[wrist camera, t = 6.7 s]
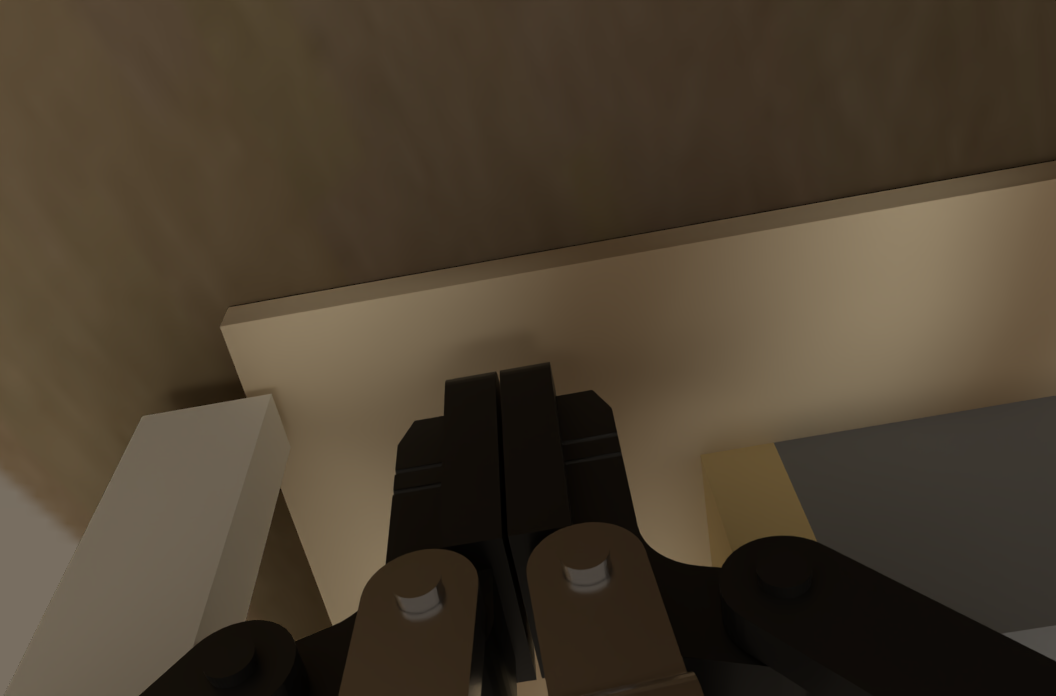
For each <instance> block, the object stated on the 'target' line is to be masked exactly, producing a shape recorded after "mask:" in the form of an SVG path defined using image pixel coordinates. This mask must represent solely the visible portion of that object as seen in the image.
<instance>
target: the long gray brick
mask: <svg viewBox="0 0 1056 696" xmlns="http://www.w3.org/2000/svg"><path fill="white" fill-rule="evenodd" d="M700 456H701V466H702V475H703V485H704V494H705V504H706V513H707V523H708V532H709V542H710V551H711V561H712V567H720V568H722V565H723V563H724V562H725V560H726V559H727V558H728V557H729V556H730V555H731V554H732V552H734V551H735V550H736V549H738V548H739V547H741V546H742V545H744V544H746V543H748V542H751V541H754V540H756V539H759V538H764V537H769V536H780V535H783V536H797V537H803V538H807V539H810V540H814V541H816V542H819V543H821V544H823V545H825V546H827V547H829V548H831V549H833V550H835V551H837V552H839V553H841V554H843V555H845V556H847V557H849V558H851V559H853V560H855V561H857V562H859V563H861V564H863V565H865V566H867V567H869V568H871V569H873V570H875V571H877V572H879V573H881V574H883V575H885V576H887V577H889V578H891V579H893V580H895V581H897V582H899V583H901V584H903V585H905V586H907V587H909V588H911V589H913V590H915V591H917V592H919V593H921V594H923V595H925V596H927V597H929V598H931V599H933V600H935V601H937V602H939V603H941V604H943V605H945V606H947V607H949V608H951V609H953V610H955V611H957V612H959V613H961V614H963V615H965V616H967V617H969V618H971V619H973V620H975V621H977V622H979V623H981V624H983V625H985V626H987V627H989V628H991V629H993V630H995V631H997V632H999V633H1001V634H1003V635H1005V636H1007V637H1009V638H1011V639H1013V640H1015V641H1017V642H1019V643H1021V644H1023V645H1025V646H1027V647H1029V648H1031V649H1033V650H1035V651H1037V652H1039V653H1041V654H1043V655H1045V656H1047V657H1048V658H1050V659H1052V660H1054V661H1056V395H1055V396H1049V397H1043V398H1037V399H1031V400H1025V401H1019V402H1013V403H1007V404H1001V405H995V406H989V407H983V408H978V409H972V410H966V411H960V412H954V413H948V414H942V415H936V416H930V417H924V418H918V419H912V420H906V421H900V422H894V423H888V424H882V425H876V426H870V427H864V428H858V429H852V430H846V431H840V432H834V433H828V434H822V435H816V436H810V437H804V438H798V439H792V440H786V441H780V442H774V443H768V444H762V445H756V446H750V447H744V448H738V449H733V450H727V451H721V452H715V453H709V454H703V455H700Z"/></svg>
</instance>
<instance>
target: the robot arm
mask: <svg viewBox="0 0 1056 696" xmlns="http://www.w3.org/2000/svg"><path fill="white" fill-rule="evenodd" d="M395 472H396V475H395V476H394V486H393V492H394V495H392V505H391V515H390V525H389V535H388V544H387V554H386V564H385V565H384V566H383V567H381V568H380V569H379V570H378V571H377V572H376V573H375V574H374V575H373V576H372V577H371V578H370V580H369V581H368V582H367V584H366V586H365V587H364V589H363V592H362V595H361V598H360V602H359V607H358V611H357V612H355V613H354V614H353V615H351V616H350V617H348V618H346V619H345V620H343V621H341V622H339V623H337V624H335V625H333V626H331V627H329V628H326V629H324V630H322V631H319V632H317V633H315V634H312V635H310V636H308V637H305V638H303V639H300V640H298V641H296V642H295V641H294V639H293V637H292V635H291V634H290V633H289V632H288V631H287V629H285V628H284V627H282V626H281V625H279V624H276V623H273V622H270V621H264V620H252V621H244V622H240V623H236V624H232V625H230V626H227V627H224V628H222V629H220V630H218V631H216V632H214V633H212V634H210V635H209V636H207V637H206V638H204V639H203V640H201V641H200V642H199V643H198V644H196V645H195V646H194V647H193V648H192V649H191V650H189V651H188V652H187V653H186V654H185V655H184V656H183V657H182V658H180V659H179V660H178V661H177V662H176V663H175V664H174V665H173V666H171V667H170V668H169V669H168V670H167V671H166V672H165V673H164V674H163V675H161V676H160V677H159V678H158V679H157V680H156V681H155V682H154V683H152V684H151V685H150V686H149V687H148V688H147V689H146V690H145V691H143V692H142V693H141V694H140V695H139V696H517V683H520V682H526V681H532V680H537V677H536V664H535V652H536V656H537V660H538V664H539V668H540V673H541V677H542V678H545V680H546V686H547V691H548V696H1056V661H1054V660H1052V659H1050V658H1048V657H1047V656H1045V655H1043V654H1041V653H1039V652H1037V651H1035V650H1033V649H1031V648H1029V647H1027V646H1025V645H1023V644H1021V643H1019V642H1017V641H1015V640H1013V639H1011V638H1009V637H1007V636H1005V635H1003V634H1001V633H999V632H997V631H995V630H993V629H991V628H989V627H987V626H985V625H983V624H981V623H979V622H977V621H975V620H973V619H971V618H969V617H967V616H965V615H963V614H961V613H959V612H957V611H955V610H953V609H951V608H949V607H947V606H945V605H943V604H941V603H939V602H937V601H935V600H933V599H931V598H929V597H927V596H925V595H923V594H921V593H919V592H917V591H915V590H913V589H911V588H909V587H907V586H905V585H903V584H901V583H899V582H897V581H895V580H893V579H891V578H889V577H887V576H885V575H883V574H881V573H879V572H877V571H875V570H873V569H871V568H869V567H867V566H865V565H863V564H861V563H859V562H857V561H855V560H853V559H851V558H849V557H847V556H845V555H843V554H841V553H839V552H837V551H835V550H833V549H831V548H829V547H827V546H825V545H823V544H821V543H819V542H816V541H814V540H810V539H807V538H803V537H797V536H783V535H780V536H769V537H764V538H759V539H756V540H754V541H751V542H748V543H746V544H744V545H742V546H741V547H739V548H738V549H736V550H735V551H734V552H732V554H731V555H730V556H729V557H728V558H727V559H726V560H725V562H724V563H723V565H722V568H720V567H708V566H697V565H690V564H685V563H681V562H677V561H674V560H672V559H669V558H667V557H665V556H663V555H661V554H660V553H658V552H656V551H655V550H654V549H653V548H651V547H650V546H649V545H648V544H647V542H646V541H645V540H644V539H643V537H642V535H641V534H640V531H639V528H638V525H637V520H636V516H635V511H634V506H633V502H632V497H631V493H630V488H629V484H628V479H627V475H626V470H625V466H624V461H623V456H622V452H621V447H620V443H619V438H618V434H617V429H616V425H615V420H614V416H613V411H612V408H611V407H610V406H609V405H608V404H607V403H606V402H605V401H604V400H603V399H602V398H601V397H600V396H599V395H597V394H596V393H595V392H594V391H593V390H588V391H582V392H577V393H571V394H565V395H559V396H557V395H556V390H555V384H554V379H553V374H552V369H551V364H550V362H545V363H539V364H534V365H528V366H522V367H516V368H511V369H505V370H500V382H499V378H498V375H497V372H496V371H495V372H489V373H483V374H477V375H472V376H466V377H460V378H454V379H449V380H446V381H445V394H444V416H439V417H433V418H427V419H422V420H416V421H414V422H413V424H412V425H411V426H410V428H409V429H408V431H407V432H406V434H405V435H404V437H403V438H402V440H401V441H400V442H399V444H398V447H397V456H396V466H395ZM534 648H535V650H534Z"/></svg>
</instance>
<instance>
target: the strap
mask: <svg viewBox="0 0 1056 696" xmlns="http://www.w3.org/2000/svg"><path fill="white" fill-rule="evenodd" d="M290 448H291V446H290V443H289V441H288V438H287V435H286V432H285V430H284V427H283V424H282V421H281V419H280V416H279V413H278V410H277V407H276V405H275V402H274V399H273V396H272V394H267V395H261V396H255V397H250V398H244V399H238V400H232V401H227V402H221V403H215V404H209V405H204V406H198V407H192V408H186V409H180V410H175V411H169V412H163V413H157V414H152V415H146V416H142V418H141V420H140V422H139V424H138V426H137V428H136V430H135V432H134V434H133V436H132V438H131V440H130V442H129V444H128V446H127V448H126V450H125V452H124V454H123V456H122V458H121V460H120V462H119V464H118V466H117V468H116V470H115V472H114V474H113V476H112V478H111V480H110V482H109V484H108V486H107V488H106V490H105V492H104V494H103V496H102V498H101V500H100V502H99V504H98V506H97V508H96V510H95V512H94V514H93V516H92V518H91V520H90V522H89V524H88V527H87V529H86V531H85V533H84V535H83V537H82V539H81V541H80V543H79V545H78V547H77V549H76V551H75V553H74V555H73V557H72V559H71V561H70V563H69V565H68V567H67V569H66V571H65V573H64V575H63V577H62V579H61V581H60V583H59V585H58V587H57V589H56V591H55V593H54V595H53V597H52V599H51V601H50V604H49V605H48V607H47V609H46V611H45V613H44V615H43V617H42V619H41V621H40V624H39V625H38V627H37V629H36V631H35V633H34V635H33V637H32V640H31V642H30V644H29V646H28V648H27V650H26V652H25V654H24V656H23V658H22V660H21V662H20V664H19V666H18V668H17V670H16V672H15V674H14V676H13V678H12V680H11V682H10V684H9V686H8V688H7V690H6V692H5V694H4V696H139V695H140V694H141V693H142V692H143V691H145V690H146V689H147V688H148V687H149V686H150V685H151V684H152V683H154V682H155V681H156V680H157V679H158V678H159V677H160V676H161V675H163V674H164V673H165V672H166V671H167V670H168V669H169V668H170V667H171V666H173V665H174V664H175V663H176V662H177V661H178V660H179V659H180V658H182V657H183V656H184V655H185V654H186V653H187V652H188V651H189V650H191V649H192V648H193V647H194V646H195V645H196V644H198V643H199V642H200V641H201V640H203V639H204V638H206V637H207V636H209V635H210V634H212V633H214V632H216V631H218V630H220V629H222V628H224V627H227V626H230V625H232V624H236V623H240V622H244V621H246V618H247V614H248V610H249V606H250V602H251V598H252V595H253V591H254V587H255V583H256V579H257V575H258V571H259V567H260V564H261V560H262V556H263V552H264V548H265V544H266V540H267V537H268V533H269V529H270V525H271V521H272V517H273V513H274V510H275V506H276V502H277V498H278V494H279V490H280V486H281V483H282V479H283V475H284V471H285V467H286V463H287V459H288V456H289V452H290Z"/></svg>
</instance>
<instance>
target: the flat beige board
mask: <svg viewBox="0 0 1056 696" xmlns="http://www.w3.org/2000/svg"><path fill="white" fill-rule="evenodd" d="M220 329H221V331H222V334H223V337H224V339H225V342H226V344H227V347H228V350H229V352H230V355H231V358H232V360H233V363H234V366H235V368H236V371H237V374H238V376H239V379H240V382H241V384H242V387H243V390H244V392H245V395H246V397H247V398H250V397H255V396H261V395H267V394H272V396H273V399H274V402H275V405H276V407H277V410H278V413H279V416H280V419H281V421H282V424H283V427H284V430H285V432H286V435H287V438H288V441H289V443H290V446H291V448H290V452H289V456H288V459H287V463H286V467H285V471H284V475H283V479H282V483H281V486H280V488H281V490H282V493H283V496H284V498H285V501H286V504H287V506H288V509H289V512H290V514H291V517H292V519H293V522H294V525H295V527H296V530H297V533H298V535H299V538H300V541H301V543H302V546H303V549H304V551H305V554H306V557H307V559H308V562H309V565H310V567H311V570H312V572H313V575H314V578H315V580H316V583H317V586H318V588H319V591H320V594H321V596H322V599H323V602H324V604H325V607H326V610H327V612H328V615H329V618H330V620H331V623H332V626H333V625H335V624H337V623H339V622H341V621H343V620H345V619H346V618H348V617H350V616H351V615H353V614H354V613H355V612H357V611H358V607H359V602H360V598H361V595H362V592H363V589H364V587H365V586H366V584H367V582H368V581H369V580H370V578H371V577H372V576H373V575H374V574H375V573H376V572H377V571H378V570H379V569H380V568H381V567H383V566H384V565H385V564H386V554H387V544H388V535H389V525H390V515H391V505H392V495H394V492H393V486H394V476H395V475H396V472H395V466H396V456H397V447H398V444H399V442H400V441H401V440H402V438H403V437H404V435H405V434H406V432H407V431H408V429H409V428H410V426H411V425H412V424H413V422H414V421H416V420H422V419H427V418H433V417H439V416H444V394H445V381H446V380H449V379H454V378H460V377H466V376H472V375H477V374H483V373H489V372H495V371H496V372H497V375H498V378H499V382H500V370H505V369H511V368H516V367H522V366H528V365H534V364H539V363H545V362H550V364H551V369H552V374H553V379H554V384H555V390H556V395H557V396H559V395H565V394H571V393H577V392H582V391H588V390H593V391H594V392H595V393H596V394H597V395H599V396H600V397H601V398H602V399H603V400H604V401H605V402H606V403H607V404H608V405H609V406H610V407H611V408H612V411H613V416H614V420H615V425H616V429H617V434H618V438H619V443H620V447H621V452H622V456H623V461H624V466H625V470H626V475H627V479H628V484H629V488H630V493H631V497H632V502H633V506H634V511H635V516H636V520H637V525H638V528H639V531H640V534H641V535H642V537H643V539H644V540H645V541H646V542H647V544H648V545H649V546H650V547H651V548H653V549H654V550H655V551H656V552H658V553H660V554H661V555H663V556H665V557H667V558H669V559H672V560H674V561H677V562H681V563H685V564H690V565H697V566H708V567H712V561H711V551H710V542H709V532H708V523H707V513H706V504H705V494H704V485H703V475H702V466H701V456H700V455H703V454H709V453H715V452H721V451H727V450H733V449H738V448H744V447H750V446H756V445H762V444H768V443H774V442H780V441H786V440H792V439H798V438H804V437H810V436H816V435H822V434H828V433H834V432H840V431H846V430H852V429H858V428H864V427H870V426H876V425H882V424H888V423H894V422H900V421H906V420H912V419H918V418H924V417H930V416H936V415H942V414H948V413H954V412H960V411H966V410H972V409H978V408H983V407H989V406H995V405H1001V404H1007V403H1013V402H1019V401H1025V400H1031V399H1037V398H1043V397H1049V396H1055V395H1056V161H1051V162H1045V163H1039V164H1034V165H1028V166H1023V167H1017V168H1011V169H1006V170H1000V171H994V172H989V173H983V174H977V175H972V176H966V177H961V178H955V179H949V180H944V181H938V182H932V183H927V184H921V185H915V186H910V187H904V188H899V189H893V190H887V191H882V192H876V193H870V194H865V195H859V196H853V197H848V198H842V199H837V200H831V201H825V202H820V203H814V204H808V205H803V206H797V207H792V208H786V209H780V210H775V211H769V212H763V213H758V214H752V215H746V216H741V217H735V218H730V219H724V220H718V221H713V222H707V223H701V224H696V225H690V226H684V227H679V228H673V229H668V230H662V231H656V232H651V233H645V234H639V235H634V236H628V237H622V238H617V239H611V240H606V241H600V242H594V243H589V244H583V245H577V246H572V247H566V248H560V249H555V250H549V251H544V252H538V253H532V254H527V255H521V256H515V257H510V258H504V259H498V260H493V261H487V262H482V263H476V264H470V265H465V266H459V267H453V268H448V269H442V270H437V271H431V272H425V273H420V274H414V275H408V276H403V277H397V278H391V279H386V280H380V281H375V282H369V283H363V284H358V285H352V286H346V287H341V288H335V289H329V290H324V291H318V292H313V293H307V294H301V295H296V296H290V297H284V298H279V299H273V300H267V301H262V302H256V303H251V304H245V305H239V306H234V307H228V309H227V311H226V314H225V316H224V318H223V321H222V323H221V325H220ZM534 650H535V648H534ZM535 664H536V677H537V680H532V681H526V682H520V683H517V696H548V691H547V686H546V680H545V678H542V677H541V673H540V668H539V664H538V660H537V656H536V652H535Z"/></svg>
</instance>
